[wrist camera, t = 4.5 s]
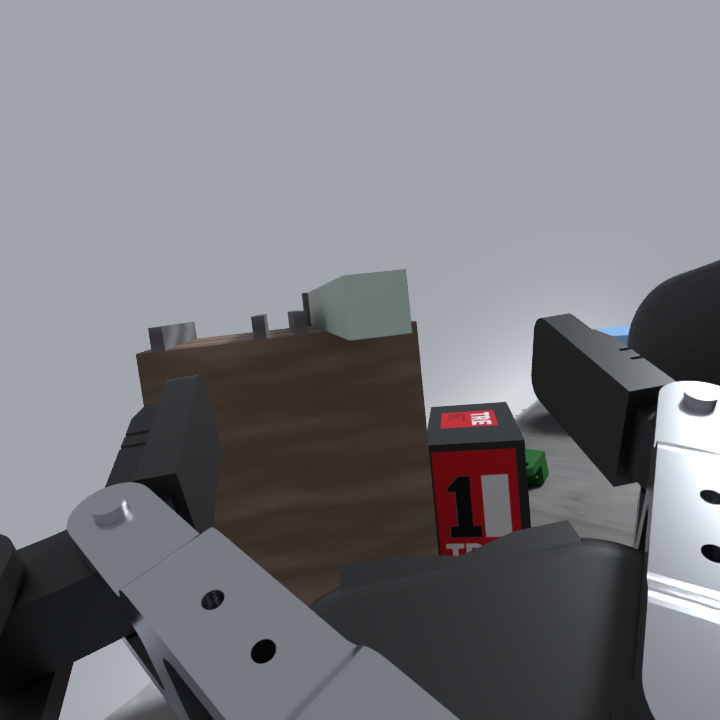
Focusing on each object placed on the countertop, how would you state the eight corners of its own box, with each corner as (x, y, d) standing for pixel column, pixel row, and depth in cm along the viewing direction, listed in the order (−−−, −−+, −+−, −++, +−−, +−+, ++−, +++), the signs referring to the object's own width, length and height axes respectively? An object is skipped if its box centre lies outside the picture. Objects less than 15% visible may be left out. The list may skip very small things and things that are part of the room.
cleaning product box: (540, 648, 50) (524, 439, 47) (443, 647, 51) (424, 445, 49) (518, 560, 66) (506, 402, 64) (446, 561, 67) (431, 407, 65)
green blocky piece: (488, 508, 93) (461, 464, 93) (503, 488, 97) (476, 447, 97) (546, 495, 84) (515, 446, 84) (559, 474, 89) (530, 428, 89)
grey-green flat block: (428, 393, 26) (416, 268, 25) (346, 405, 25) (331, 276, 24) (351, 352, 51) (344, 289, 50) (309, 357, 50) (301, 293, 50)
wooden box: (458, 754, 39) (414, 298, 36) (207, 815, 37) (132, 329, 33) (409, 638, 53) (374, 302, 49) (225, 677, 50) (173, 324, 47)
